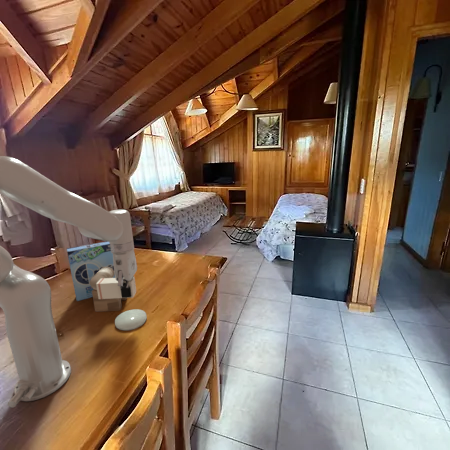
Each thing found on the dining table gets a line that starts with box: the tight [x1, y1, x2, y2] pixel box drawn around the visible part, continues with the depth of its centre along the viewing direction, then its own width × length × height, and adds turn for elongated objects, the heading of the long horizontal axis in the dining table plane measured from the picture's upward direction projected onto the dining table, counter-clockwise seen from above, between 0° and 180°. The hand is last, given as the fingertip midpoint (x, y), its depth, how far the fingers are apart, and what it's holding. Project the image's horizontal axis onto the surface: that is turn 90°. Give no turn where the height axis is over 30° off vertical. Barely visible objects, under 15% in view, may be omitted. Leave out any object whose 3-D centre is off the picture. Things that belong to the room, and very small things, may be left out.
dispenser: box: [90, 266, 128, 312], centre depth 103 cm, size 10×10×15 cm
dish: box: [114, 308, 147, 331], centre depth 94 cm, size 11×11×1 cm
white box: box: [96, 276, 137, 299], centre depth 91 cm, size 4×12×6 cm, turn 93°
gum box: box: [66, 241, 115, 302], centre depth 111 cm, size 20×5×23 cm, turn 123°
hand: (128, 293), depth 91 cm, fingers closed on white box, 4 cm apart
